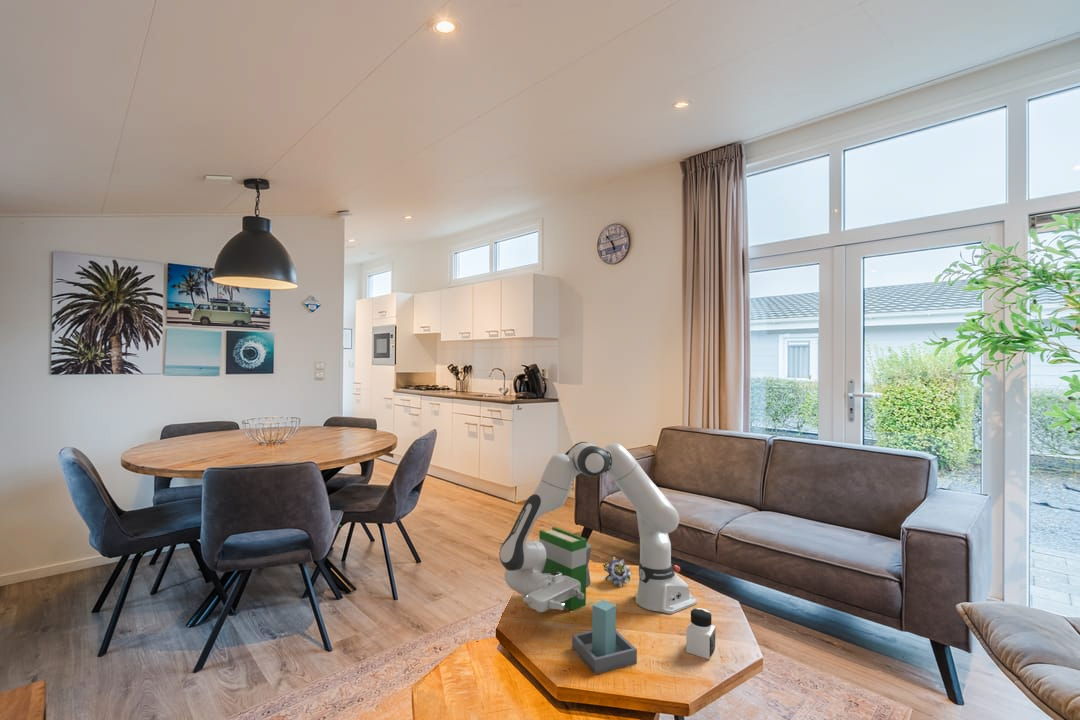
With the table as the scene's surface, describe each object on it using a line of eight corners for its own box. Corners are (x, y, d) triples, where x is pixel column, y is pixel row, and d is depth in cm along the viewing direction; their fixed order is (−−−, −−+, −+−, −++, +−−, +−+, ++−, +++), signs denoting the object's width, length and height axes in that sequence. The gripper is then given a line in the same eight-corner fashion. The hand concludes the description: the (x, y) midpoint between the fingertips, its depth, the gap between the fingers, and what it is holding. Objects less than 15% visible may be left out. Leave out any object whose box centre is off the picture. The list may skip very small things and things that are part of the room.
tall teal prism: (602, 645, 151) (602, 599, 151) (615, 652, 147) (616, 605, 147) (592, 652, 147) (592, 605, 147) (605, 659, 144) (605, 610, 144)
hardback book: (538, 594, 187) (539, 530, 187) (553, 588, 192) (553, 526, 192) (571, 611, 174) (572, 543, 174) (585, 605, 178) (586, 538, 179)
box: (611, 638, 156) (611, 626, 156) (636, 663, 143) (636, 649, 144) (572, 648, 151) (572, 635, 151) (595, 674, 138) (595, 660, 138)
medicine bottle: (710, 660, 145) (710, 619, 146) (685, 652, 149) (686, 612, 149) (715, 648, 151) (715, 609, 152) (692, 641, 155) (692, 603, 155)
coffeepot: (596, 588, 192) (597, 542, 192) (574, 591, 189) (574, 544, 190) (582, 573, 207) (583, 530, 207) (561, 575, 204) (562, 531, 204)
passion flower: (619, 600, 194) (608, 580, 189) (604, 584, 204) (593, 565, 199) (640, 581, 197) (629, 561, 193) (624, 566, 207) (614, 547, 202)
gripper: (519, 588, 159) (551, 603, 149) (562, 570, 173) (593, 582, 164) (519, 608, 159) (551, 624, 149) (562, 588, 173) (593, 601, 164)
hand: (573, 602), depth 156 cm, fingers open, 8 cm apart
